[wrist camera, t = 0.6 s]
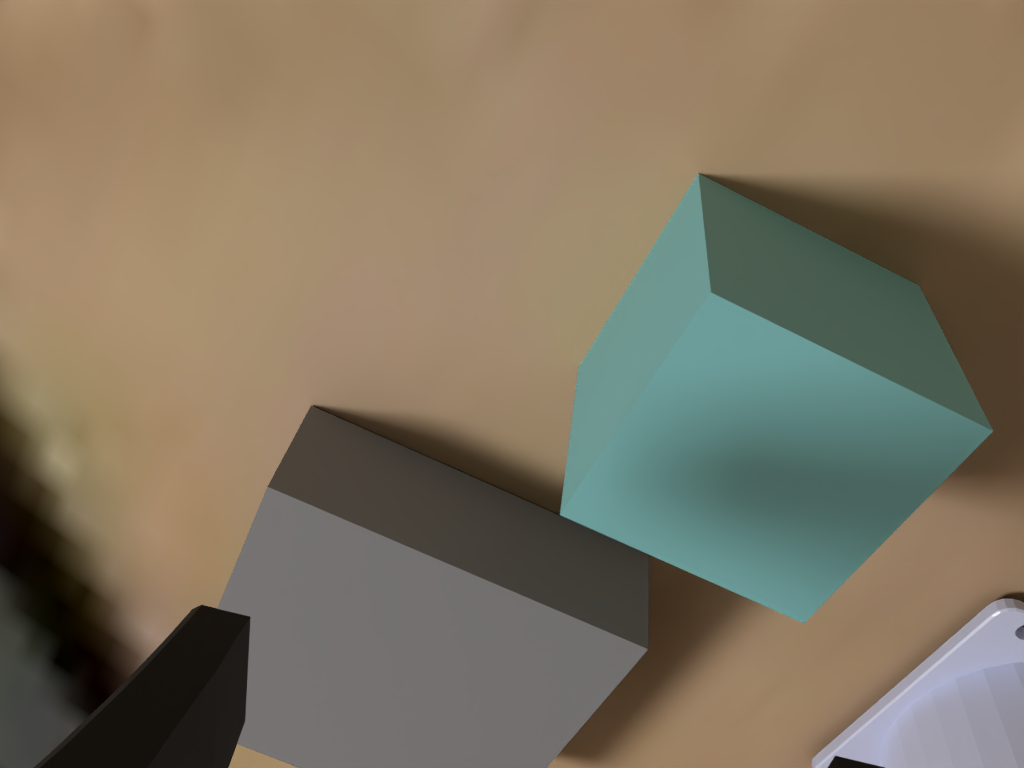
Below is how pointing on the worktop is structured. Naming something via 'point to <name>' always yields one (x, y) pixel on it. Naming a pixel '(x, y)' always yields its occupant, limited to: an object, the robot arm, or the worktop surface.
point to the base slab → (423, 613)
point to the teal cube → (764, 406)
